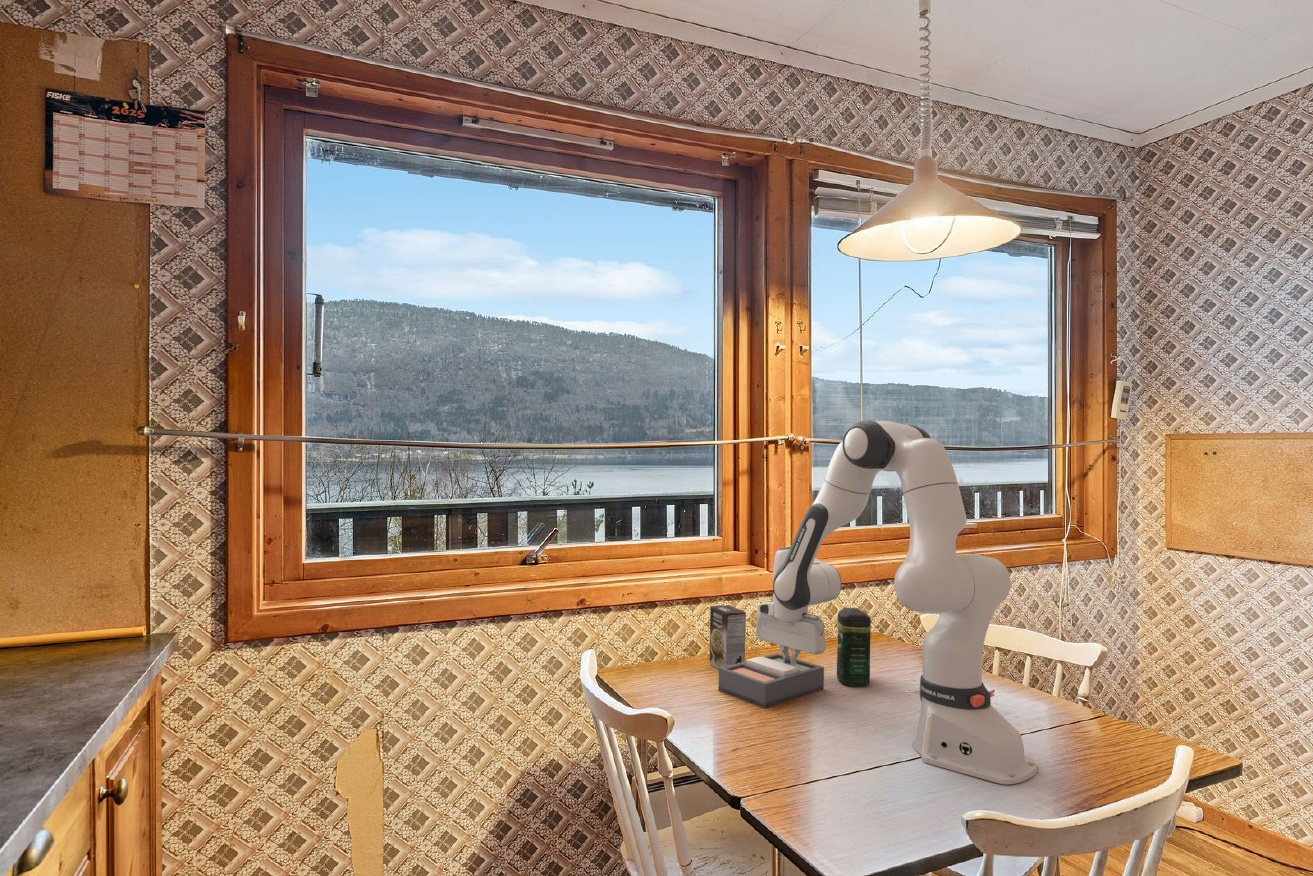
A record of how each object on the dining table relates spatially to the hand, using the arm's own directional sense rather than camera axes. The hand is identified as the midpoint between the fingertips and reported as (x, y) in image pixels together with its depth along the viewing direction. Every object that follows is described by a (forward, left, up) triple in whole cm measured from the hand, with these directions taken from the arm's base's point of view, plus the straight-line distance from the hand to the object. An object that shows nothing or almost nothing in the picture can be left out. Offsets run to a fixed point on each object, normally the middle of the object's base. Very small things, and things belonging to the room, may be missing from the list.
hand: (789, 664), depth 186 cm
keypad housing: (0, +7, -5) cm, 8 cm away
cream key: (0, +7, -2) cm, 7 cm away
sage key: (0, 0, -3) cm, 3 cm away
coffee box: (+20, +3, -5) cm, 21 cm away
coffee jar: (-8, -15, -5) cm, 18 cm away
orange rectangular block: (0, +14, -3) cm, 14 cm away
